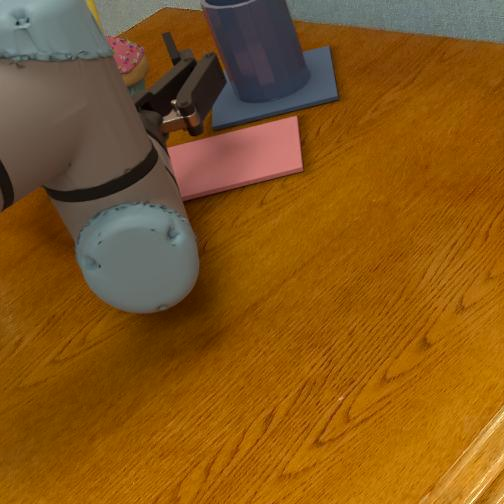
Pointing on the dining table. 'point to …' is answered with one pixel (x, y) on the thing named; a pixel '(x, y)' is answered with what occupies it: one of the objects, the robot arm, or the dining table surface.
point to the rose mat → (237, 158)
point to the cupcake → (127, 58)
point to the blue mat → (313, 93)
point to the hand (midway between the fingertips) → (97, 71)
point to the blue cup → (257, 47)
